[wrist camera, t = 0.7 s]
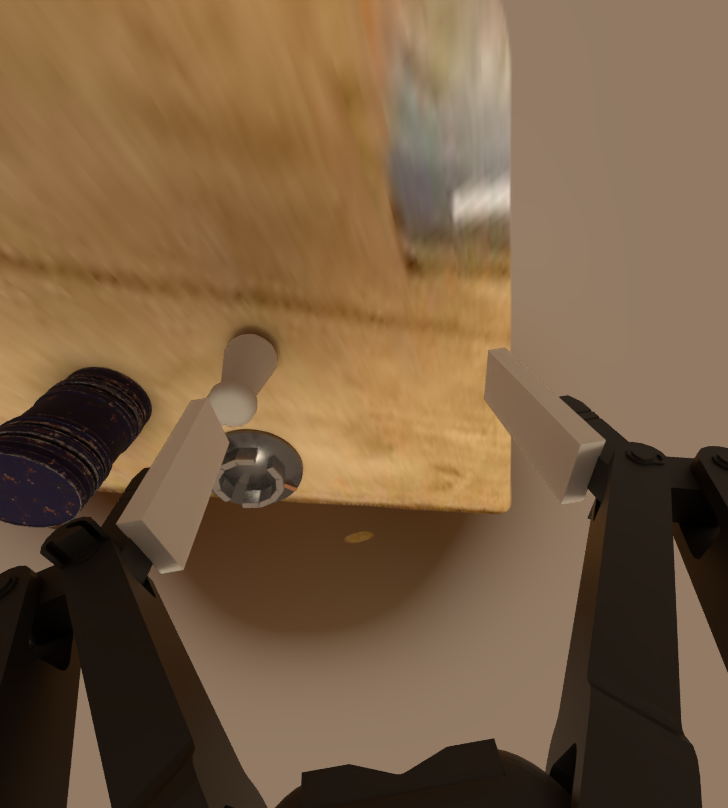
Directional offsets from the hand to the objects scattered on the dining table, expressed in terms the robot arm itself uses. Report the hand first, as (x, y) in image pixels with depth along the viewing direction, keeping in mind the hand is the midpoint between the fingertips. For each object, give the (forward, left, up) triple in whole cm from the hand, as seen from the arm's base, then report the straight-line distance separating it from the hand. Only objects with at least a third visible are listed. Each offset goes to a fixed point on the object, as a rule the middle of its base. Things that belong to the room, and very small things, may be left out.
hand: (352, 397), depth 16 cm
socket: (+4, -31, -24) cm, 39 cm away
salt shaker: (-4, -13, -25) cm, 28 cm away
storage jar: (-16, -29, -25) cm, 41 cm away
